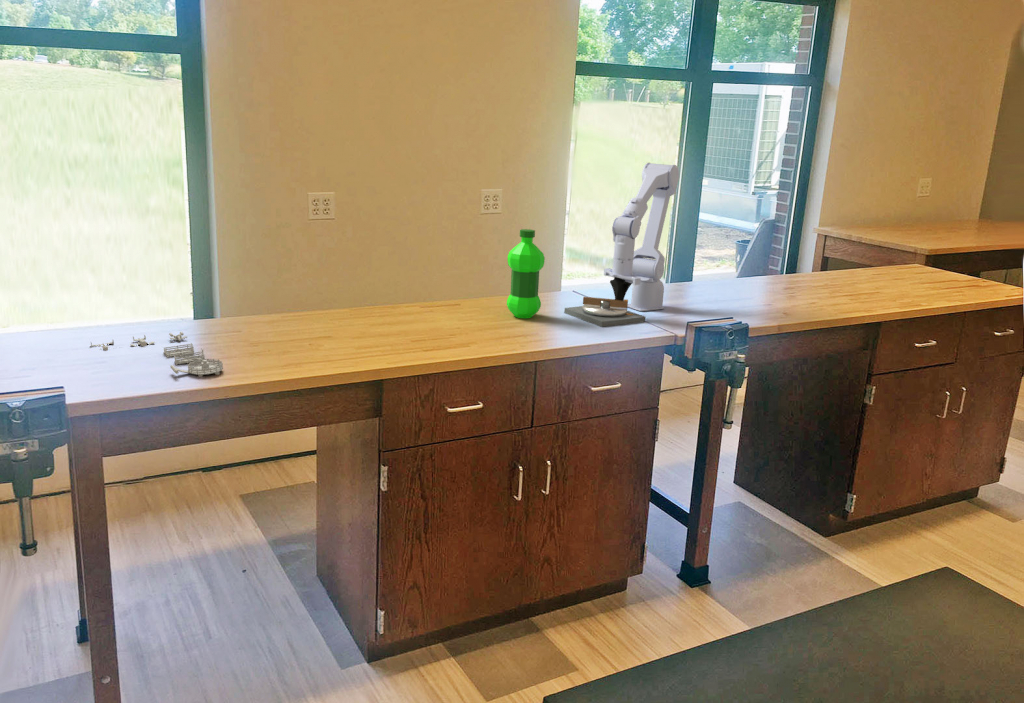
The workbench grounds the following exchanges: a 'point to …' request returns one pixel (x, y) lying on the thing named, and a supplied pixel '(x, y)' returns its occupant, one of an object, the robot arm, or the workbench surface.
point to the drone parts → (185, 357)
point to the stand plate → (604, 317)
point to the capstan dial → (605, 306)
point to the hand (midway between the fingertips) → (619, 304)
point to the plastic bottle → (525, 276)
